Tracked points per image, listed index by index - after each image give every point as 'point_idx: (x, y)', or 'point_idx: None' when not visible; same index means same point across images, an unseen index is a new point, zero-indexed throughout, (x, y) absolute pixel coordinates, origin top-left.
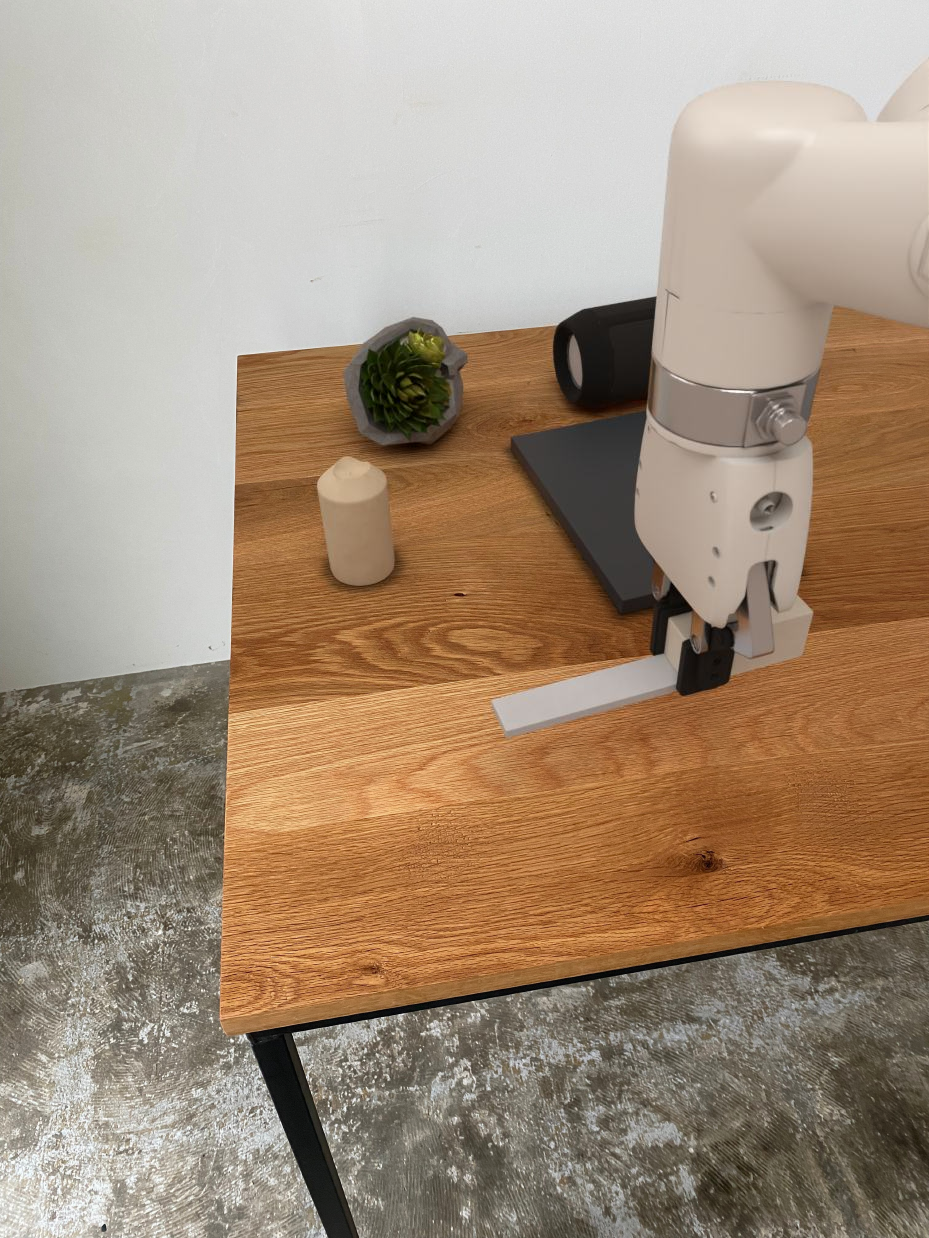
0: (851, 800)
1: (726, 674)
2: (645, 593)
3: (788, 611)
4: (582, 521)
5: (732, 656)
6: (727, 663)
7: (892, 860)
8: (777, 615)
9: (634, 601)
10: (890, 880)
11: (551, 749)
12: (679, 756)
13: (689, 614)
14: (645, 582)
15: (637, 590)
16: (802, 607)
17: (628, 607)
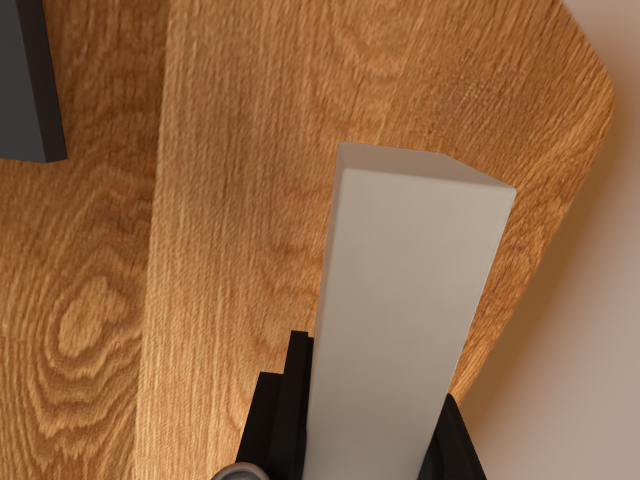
0: (489, 76)
1: (458, 410)
2: (33, 120)
3: (458, 267)
4: None
5: (444, 404)
6: (470, 444)
7: (581, 95)
8: (450, 308)
9: (48, 141)
10: (595, 119)
11: (261, 335)
12: (327, 229)
13: (310, 471)
14: (4, 103)
15: (24, 128)
16: (473, 211)
17: (57, 149)
